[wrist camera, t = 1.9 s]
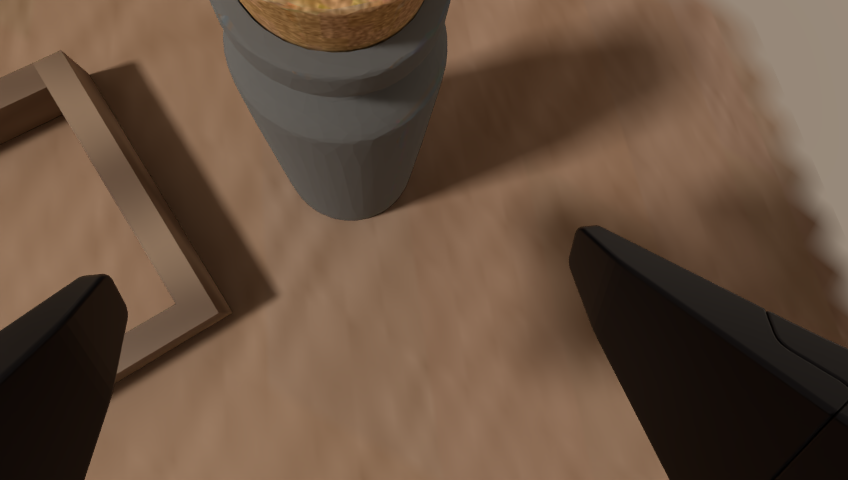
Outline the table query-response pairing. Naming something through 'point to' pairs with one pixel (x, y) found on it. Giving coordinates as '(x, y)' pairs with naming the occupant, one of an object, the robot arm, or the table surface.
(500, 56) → the table surface
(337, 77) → the bottle
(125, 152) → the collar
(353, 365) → the table surface
